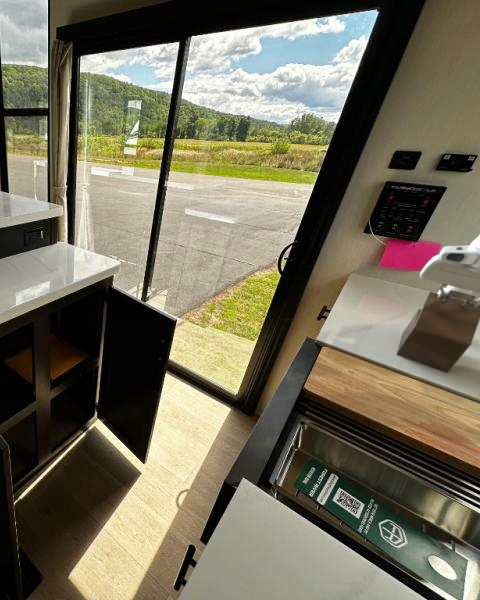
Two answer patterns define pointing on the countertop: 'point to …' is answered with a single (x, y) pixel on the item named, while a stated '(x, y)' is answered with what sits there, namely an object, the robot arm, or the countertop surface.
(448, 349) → the chest
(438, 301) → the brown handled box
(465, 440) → the countertop surface
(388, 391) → the countertop surface
